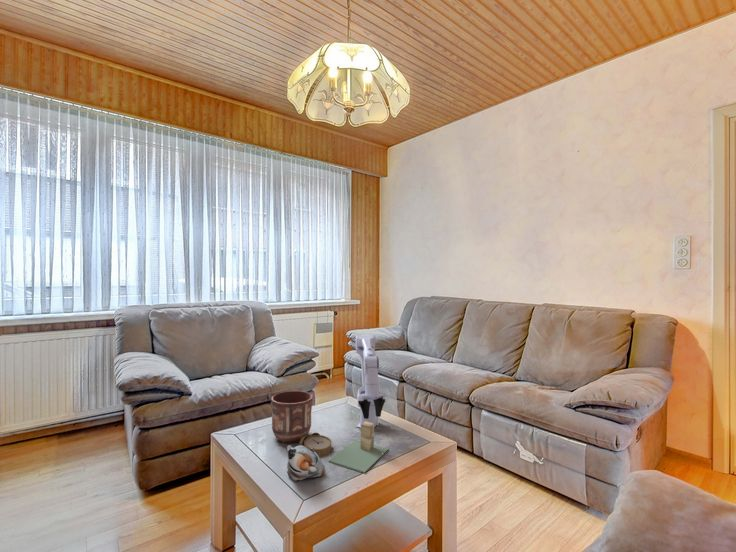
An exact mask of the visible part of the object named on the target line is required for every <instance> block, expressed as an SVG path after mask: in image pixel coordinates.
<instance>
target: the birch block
mask: <svg viewBox="0 0 736 552" xmlns="http://www.w3.org/2000/svg"><path fill="white" fill-rule="evenodd" d="M374 436H375V428H374V423H371V422H367V421H365V422H364V423H362V424H361V428H360V441H361V444H360V449H363V450H366V451H370V450H371V449H372V448H373V447H374V445H375V442H374V441H375V437H374Z"/></svg>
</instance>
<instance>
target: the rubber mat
mask: <svg viewBox="0 0 736 552" xmlns="http://www.w3.org/2000/svg"><path fill="white" fill-rule="evenodd" d="M360 444H361V440H358V439H354V440H353V441H352V442H351V443H349V444H348V445H346V446H345V447H344V448H343V449H341V450H340V451H339V452H338V453H336V454H335V455H333V456H332V457H331V458H329V459H328V463H330V464H334V465H336V466H340V467H344V468H346V469H350V470H353V471H355V470H356V471H355V472H358V471H359V472H358V473H361V472H363V473H362V474H364V473H365V472H366V471H367V470H368V469H369V468H370V467H371V466H372V465H373V464H374V463H375V462H376V461H377V460H378V459H379V458H380V457H381V456H382V455H383V454H384V453H385V452H386V451H387V450H388V449H389V448H388V447H384V446H380V445H377V444H374V447H373V448H372V449H371V450H370V451H366V450H363V449H360ZM387 452H388V451H387ZM387 452H386V453H387ZM382 453H383V454H382ZM386 453H385V454H386ZM385 454H384V455H385ZM384 455H383V456H384ZM383 456H382V457H383ZM382 457H381V458H382ZM381 458H380V459H381ZM380 459H379V460H380ZM379 460H378V461H379ZM378 461H377V462H378ZM377 462H376V463H377ZM376 463H375V464H376ZM375 464H374V465H375ZM374 465H373V466H374ZM373 466H372V467H373ZM372 467H371V468H372ZM371 468H370V469H371ZM370 469H369V470H370ZM369 470H368V471H369ZM368 471H367V472H368ZM367 472H366V473H367ZM366 473H365V474H366Z"/></svg>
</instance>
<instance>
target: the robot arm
mask: <svg viewBox="0 0 736 552" xmlns="http://www.w3.org/2000/svg"><path fill="white" fill-rule="evenodd" d="M375 348H376V335H375V334H372V335H371V334H370V335H368V334H367V335H365V334H364V335H361V334H359V335H358V334H356V335H355V352H356V354H358V355H359V357H360V360H361V361H360V362H361V365H360V366H361V379H362V380H361V382H362V383H361V385H362V386H361V387H360V388H358V389H357V391H356V392H357V396H356V405H357V407H358V408H359V423H358V424H357V425H355V426H356V428H360V429H361V424H362V423H364V422H365V421H367V422H371V423H374V427H375V426H376V425H377V426H379V425H380V424H379V422H380V421H379V418H380V417H381V414H382V410H383V407H384V405H385V402H386V399H385V393H379V369H380V358H379V355H377V353H376V350H375ZM377 426H376V427H377ZM376 427H375V428H376Z"/></svg>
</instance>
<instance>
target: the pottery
mask: <svg viewBox="0 0 736 552" xmlns="http://www.w3.org/2000/svg"><path fill="white" fill-rule="evenodd" d="M313 399H314V395H313V394H312V393H310V392H307V391H303V390H285V391H281V392H277V393H275V394H274V395H273V396H271V399H270V404H271V431H272V433H273V434H274V436H275V438H276V439H277V440H278V441H279V442H280V443H284V444H293V443H294V444H295V443H299V441H300V440H301V437H303V436H305V435H309V433H310V431H311V427H312V408H313V401H314V400H313Z"/></svg>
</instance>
